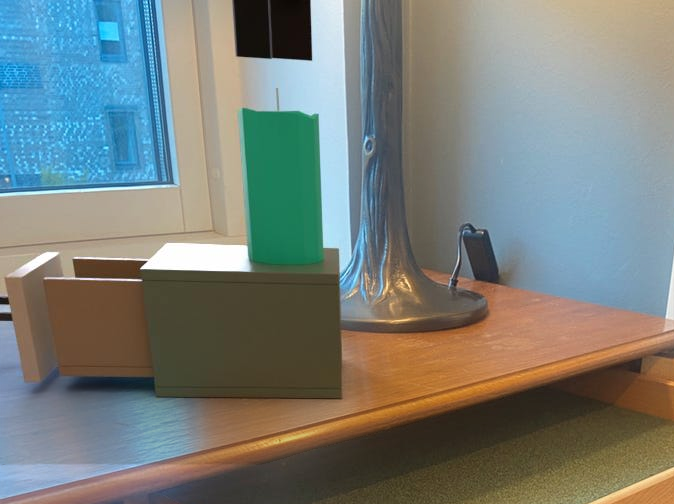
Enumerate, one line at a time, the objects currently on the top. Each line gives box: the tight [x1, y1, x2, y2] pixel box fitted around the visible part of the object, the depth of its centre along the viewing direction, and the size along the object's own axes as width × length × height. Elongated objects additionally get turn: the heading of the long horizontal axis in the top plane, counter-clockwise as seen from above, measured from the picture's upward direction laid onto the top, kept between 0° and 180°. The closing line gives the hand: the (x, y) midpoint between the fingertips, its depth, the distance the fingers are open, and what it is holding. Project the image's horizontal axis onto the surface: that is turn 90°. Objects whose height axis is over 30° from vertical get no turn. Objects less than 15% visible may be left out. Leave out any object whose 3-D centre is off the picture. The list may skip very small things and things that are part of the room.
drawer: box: [0, 251, 154, 383], centre depth 78 cm, size 18×11×8 cm, turn 97°
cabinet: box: [140, 242, 343, 399], centre depth 80 cm, size 15×13×10 cm
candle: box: [237, 87, 324, 265], centre depth 74 cm, size 6×6×12 cm
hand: (271, 59), depth 71 cm, fingers open, 13 cm apart
